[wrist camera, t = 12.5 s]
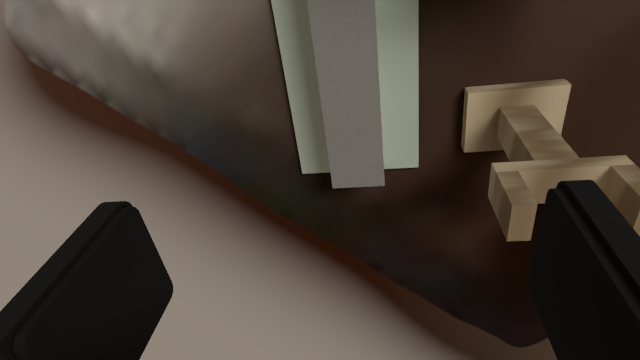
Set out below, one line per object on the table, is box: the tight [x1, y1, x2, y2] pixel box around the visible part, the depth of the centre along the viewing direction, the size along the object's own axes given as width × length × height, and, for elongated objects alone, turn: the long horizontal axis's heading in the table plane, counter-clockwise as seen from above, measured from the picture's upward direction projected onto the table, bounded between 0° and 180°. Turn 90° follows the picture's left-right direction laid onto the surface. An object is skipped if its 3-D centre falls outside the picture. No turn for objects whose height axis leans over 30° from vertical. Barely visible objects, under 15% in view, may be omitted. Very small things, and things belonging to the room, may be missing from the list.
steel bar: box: [307, 0, 385, 188], centre depth 27 cm, size 4×22×4 cm, turn 7°
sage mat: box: [271, 0, 418, 174], centre depth 29 cm, size 10×24×1 cm, turn 8°
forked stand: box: [461, 79, 640, 241], centre depth 22 cm, size 7×21×13 cm, turn 8°
